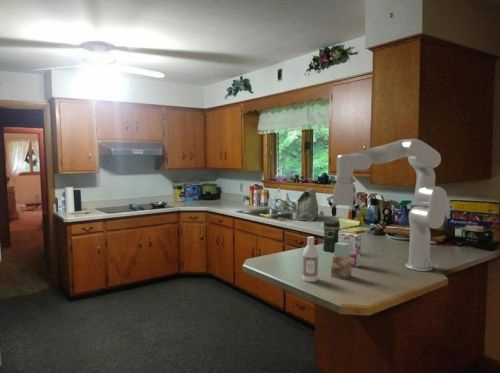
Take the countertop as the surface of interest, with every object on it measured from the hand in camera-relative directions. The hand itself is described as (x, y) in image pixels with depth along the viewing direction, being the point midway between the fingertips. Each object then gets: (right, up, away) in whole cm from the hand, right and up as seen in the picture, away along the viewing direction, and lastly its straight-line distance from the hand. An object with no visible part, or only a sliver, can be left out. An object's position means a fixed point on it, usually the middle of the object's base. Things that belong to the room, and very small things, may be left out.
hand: (343, 217), depth 173 cm
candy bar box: (+8, -27, +21) cm, 35 cm away
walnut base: (-1, -28, +2) cm, 29 cm away
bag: (+7, -15, +155) cm, 156 cm away
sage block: (-1, -18, +1) cm, 19 cm away
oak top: (-1, -23, +1) cm, 24 cm away
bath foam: (-16, -29, -3) cm, 33 cm away
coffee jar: (+5, -24, +49) cm, 55 cm away
